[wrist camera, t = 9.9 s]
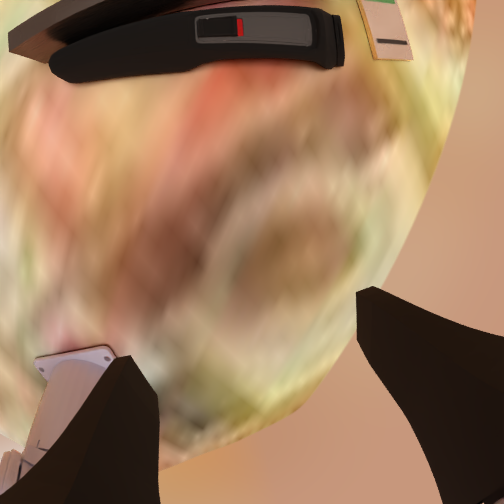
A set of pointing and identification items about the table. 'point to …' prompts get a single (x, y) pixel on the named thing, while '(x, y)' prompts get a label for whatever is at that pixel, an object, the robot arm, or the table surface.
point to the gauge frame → (385, 30)
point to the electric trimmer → (203, 42)
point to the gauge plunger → (84, 22)
